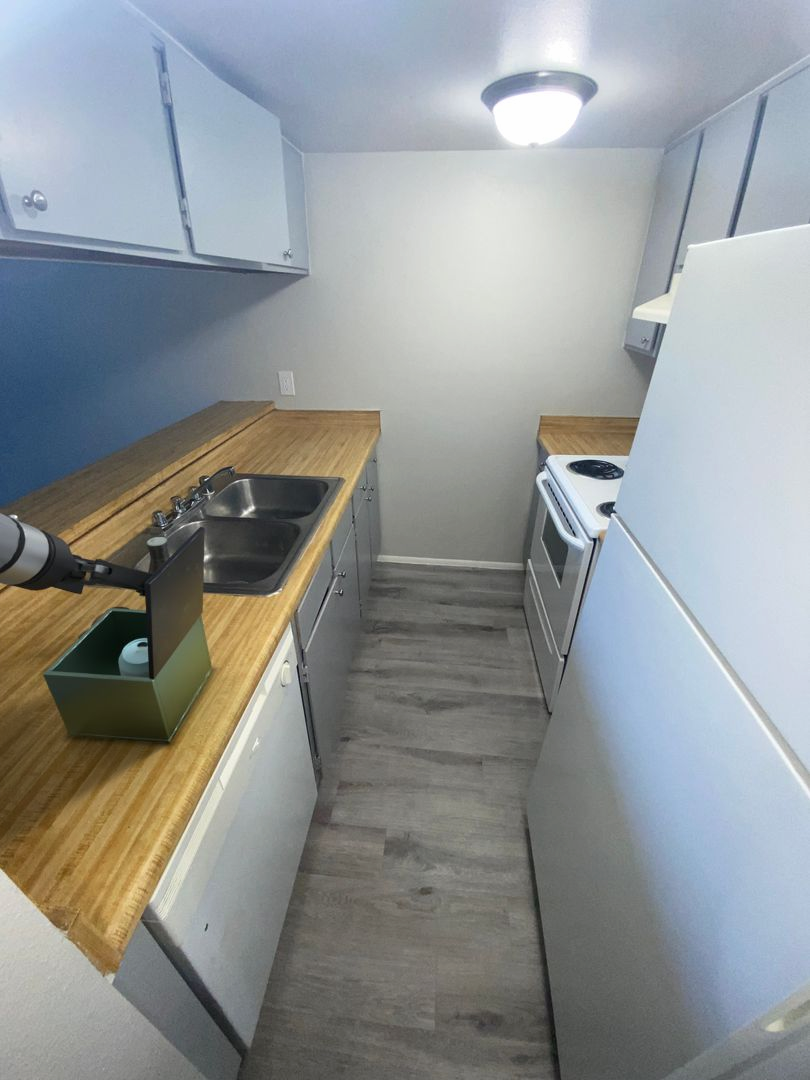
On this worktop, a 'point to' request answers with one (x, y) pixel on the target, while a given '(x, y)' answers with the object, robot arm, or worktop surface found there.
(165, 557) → the sauce bottle
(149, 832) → the worktop surface
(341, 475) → the worktop surface
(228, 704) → the worktop surface
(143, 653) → the can
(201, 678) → the green open box
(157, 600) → the box lid
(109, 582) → the robot arm
